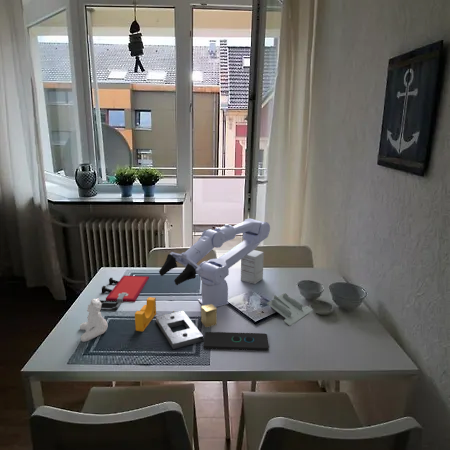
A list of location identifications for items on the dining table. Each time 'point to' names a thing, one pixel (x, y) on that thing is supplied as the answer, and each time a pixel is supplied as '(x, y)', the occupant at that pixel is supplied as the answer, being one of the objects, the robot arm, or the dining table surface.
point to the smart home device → (236, 341)
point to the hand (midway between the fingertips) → (167, 278)
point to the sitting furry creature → (93, 322)
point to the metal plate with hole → (179, 337)
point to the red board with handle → (123, 291)
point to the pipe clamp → (145, 314)
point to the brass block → (208, 315)
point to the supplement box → (252, 267)
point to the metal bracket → (289, 308)
